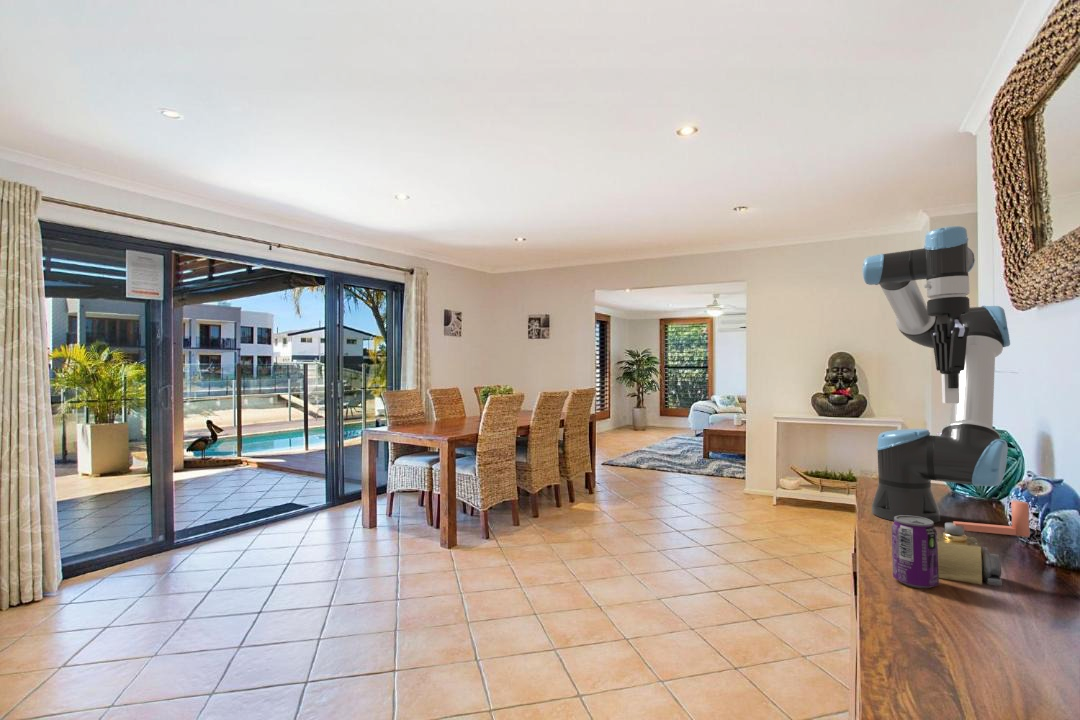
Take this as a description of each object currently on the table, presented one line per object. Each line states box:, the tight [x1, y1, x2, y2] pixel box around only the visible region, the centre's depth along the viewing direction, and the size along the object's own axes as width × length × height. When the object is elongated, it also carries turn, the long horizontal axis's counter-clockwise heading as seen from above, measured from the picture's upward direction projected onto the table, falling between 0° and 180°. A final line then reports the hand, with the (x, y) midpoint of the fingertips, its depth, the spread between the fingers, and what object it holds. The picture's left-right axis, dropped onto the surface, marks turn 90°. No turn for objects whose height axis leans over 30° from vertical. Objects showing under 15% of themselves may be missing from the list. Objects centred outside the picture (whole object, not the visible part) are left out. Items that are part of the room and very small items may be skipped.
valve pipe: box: [937, 531, 1003, 587], centre depth 103 cm, size 6×13×8 cm, turn 58°
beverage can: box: [891, 515, 940, 589], centre depth 100 cm, size 7×7×12 cm
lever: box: [944, 500, 1031, 538], centre depth 101 cm, size 13×3×7 cm, turn 64°
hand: (950, 402), depth 118 cm, fingers closed
